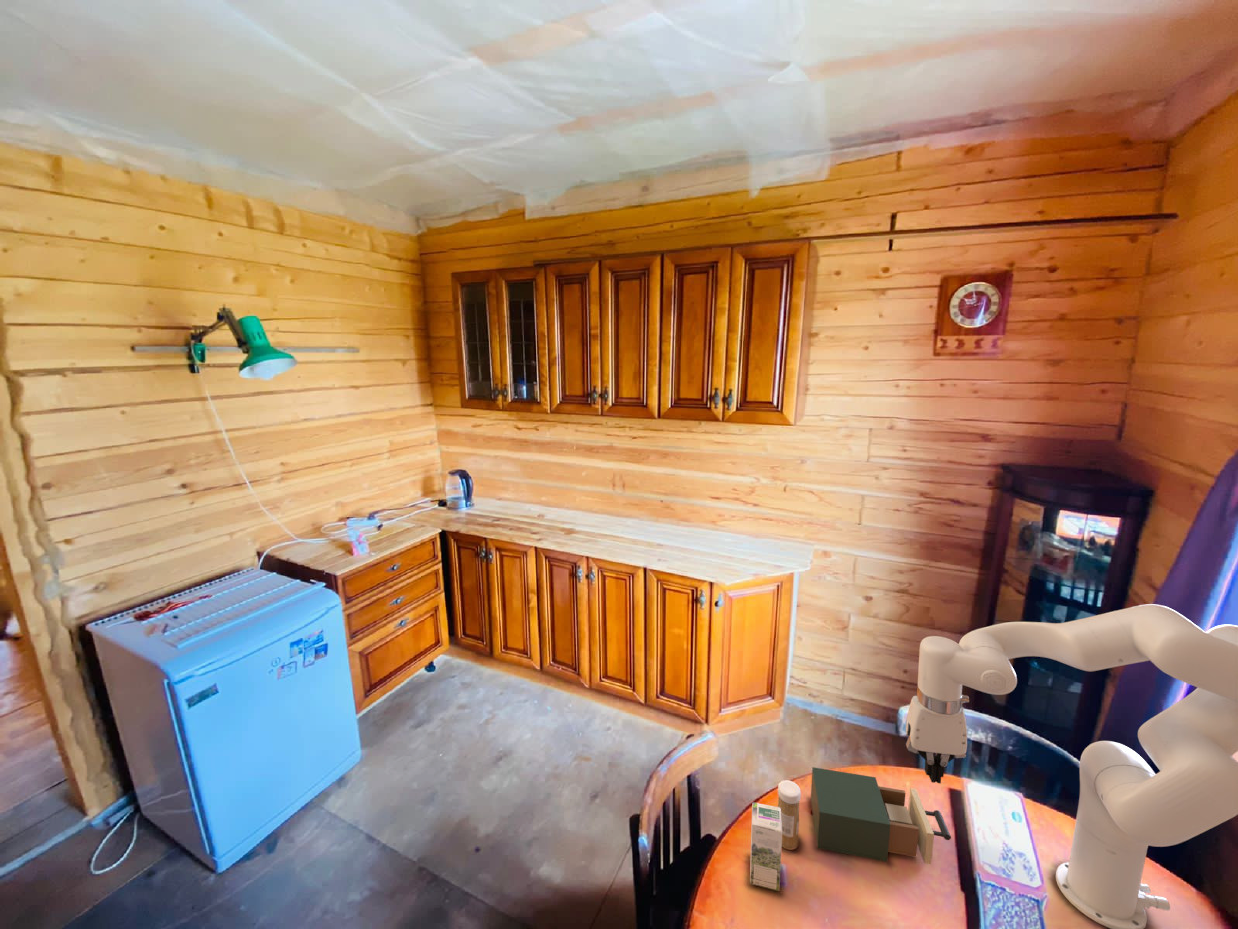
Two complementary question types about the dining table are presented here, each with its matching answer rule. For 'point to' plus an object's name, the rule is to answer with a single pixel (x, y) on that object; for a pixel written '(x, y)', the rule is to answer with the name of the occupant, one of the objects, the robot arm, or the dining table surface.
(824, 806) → the cabinet
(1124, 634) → the robot arm
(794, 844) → the spice jar
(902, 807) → the block
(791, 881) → the dining table surface
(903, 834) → the drawer
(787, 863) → the dining table surface
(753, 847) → the syrup box
